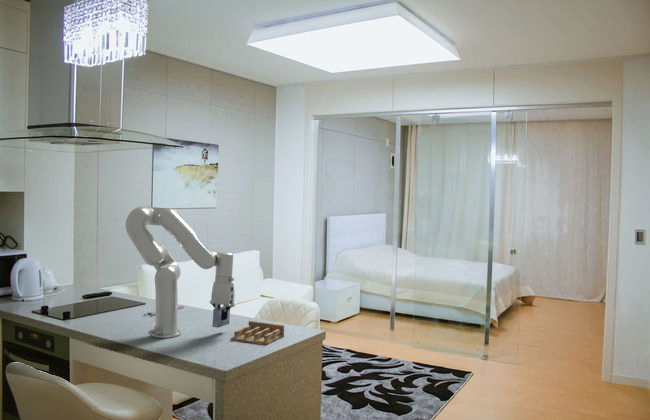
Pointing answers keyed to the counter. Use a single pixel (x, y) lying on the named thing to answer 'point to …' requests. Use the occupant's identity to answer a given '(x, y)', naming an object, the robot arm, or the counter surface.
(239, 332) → the rack
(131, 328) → the counter surface
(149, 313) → the adjustable wrench
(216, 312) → the block
